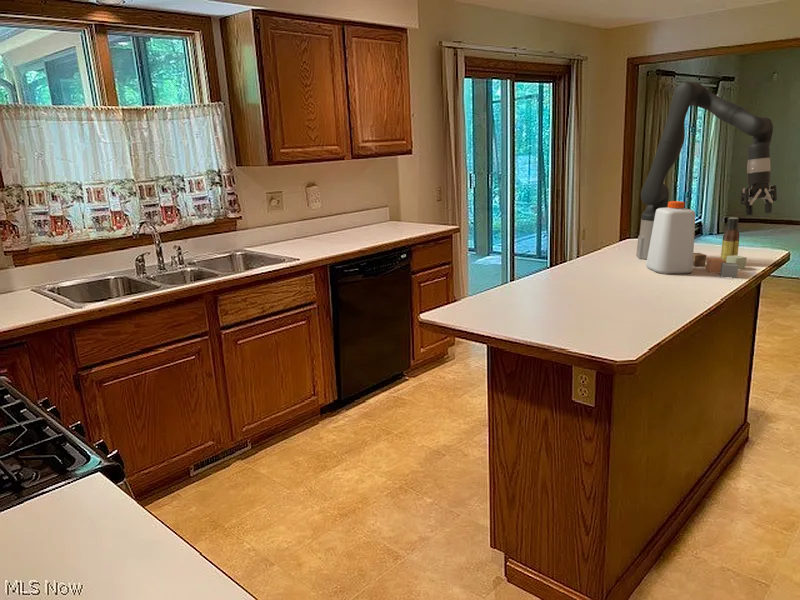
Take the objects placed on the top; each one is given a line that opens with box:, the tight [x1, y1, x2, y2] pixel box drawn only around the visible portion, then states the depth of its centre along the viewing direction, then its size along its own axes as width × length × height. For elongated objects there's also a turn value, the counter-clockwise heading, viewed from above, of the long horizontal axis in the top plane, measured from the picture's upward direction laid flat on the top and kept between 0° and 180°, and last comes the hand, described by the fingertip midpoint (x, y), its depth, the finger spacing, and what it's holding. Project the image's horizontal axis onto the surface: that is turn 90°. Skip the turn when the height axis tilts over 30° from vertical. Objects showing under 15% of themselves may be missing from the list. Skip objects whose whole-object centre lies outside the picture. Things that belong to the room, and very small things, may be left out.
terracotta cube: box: [705, 257, 725, 273], centre depth 239 cm, size 5×5×5 cm
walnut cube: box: [693, 252, 707, 268], centre depth 250 cm, size 5×5×5 cm
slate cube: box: [719, 262, 739, 279], centre depth 231 cm, size 5×5×5 cm
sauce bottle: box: [720, 216, 740, 263], centre depth 249 cm, size 7×6×20 cm
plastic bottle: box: [645, 200, 696, 275], centre depth 238 cm, size 15×15×28 cm
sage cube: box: [726, 254, 747, 270], centre depth 244 cm, size 5×5×5 cm
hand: (758, 214), depth 225 cm, fingers open, 8 cm apart
